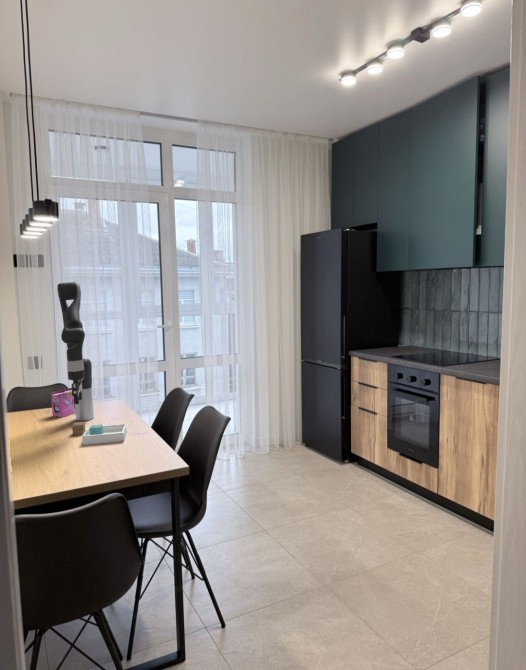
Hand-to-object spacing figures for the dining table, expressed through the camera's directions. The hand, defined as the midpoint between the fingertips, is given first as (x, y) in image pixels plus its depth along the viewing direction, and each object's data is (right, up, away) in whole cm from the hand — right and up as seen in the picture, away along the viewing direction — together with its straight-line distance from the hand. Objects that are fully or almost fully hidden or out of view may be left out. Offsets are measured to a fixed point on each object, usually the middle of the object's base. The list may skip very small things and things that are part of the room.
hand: (78, 401), depth 231 cm
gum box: (-21, -13, +46) cm, 52 cm away
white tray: (+16, -16, -8) cm, 24 cm away
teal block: (+12, -15, -9) cm, 21 cm away
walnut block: (0, -16, +1) cm, 16 cm away
